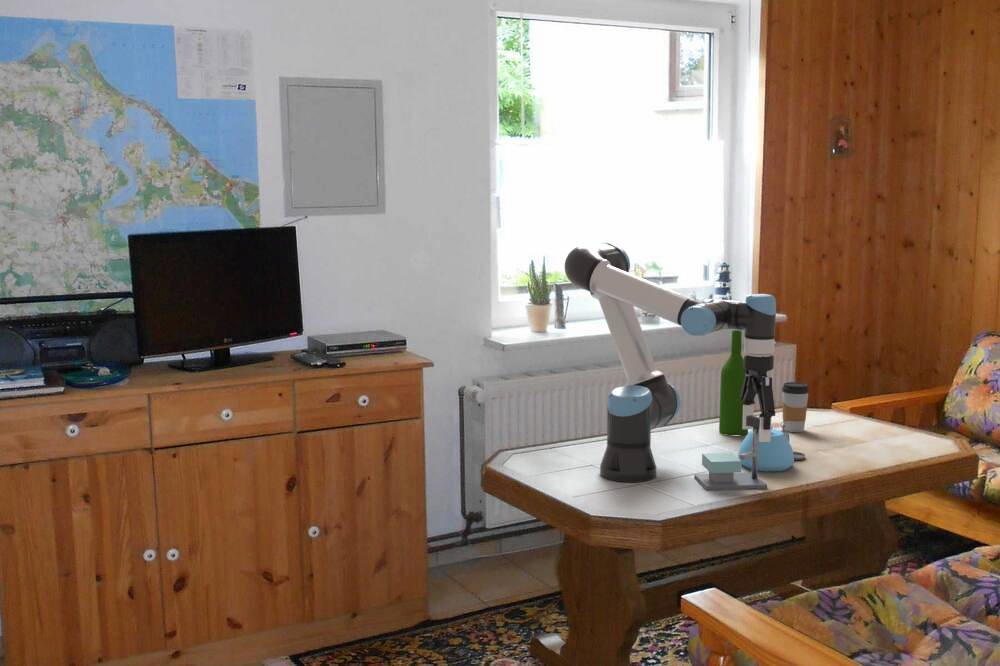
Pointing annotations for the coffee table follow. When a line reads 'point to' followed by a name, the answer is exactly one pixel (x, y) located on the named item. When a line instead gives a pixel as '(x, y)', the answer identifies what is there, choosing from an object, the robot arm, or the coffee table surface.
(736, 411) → the wine bottle
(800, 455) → the pocket watch
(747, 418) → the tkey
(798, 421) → the coffee cup
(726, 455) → the lid
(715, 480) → the grey base plate
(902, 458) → the coffee table surface
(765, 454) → the sugar bowl
